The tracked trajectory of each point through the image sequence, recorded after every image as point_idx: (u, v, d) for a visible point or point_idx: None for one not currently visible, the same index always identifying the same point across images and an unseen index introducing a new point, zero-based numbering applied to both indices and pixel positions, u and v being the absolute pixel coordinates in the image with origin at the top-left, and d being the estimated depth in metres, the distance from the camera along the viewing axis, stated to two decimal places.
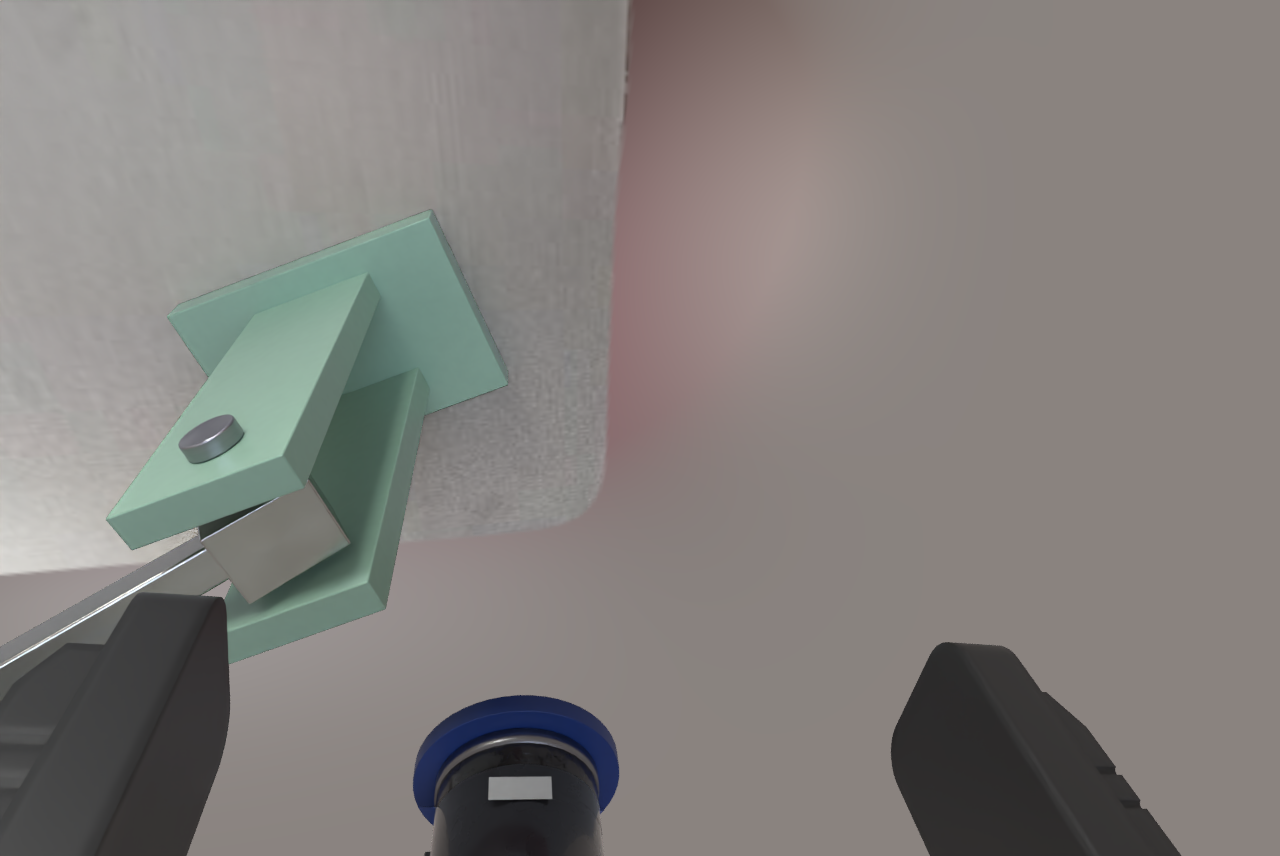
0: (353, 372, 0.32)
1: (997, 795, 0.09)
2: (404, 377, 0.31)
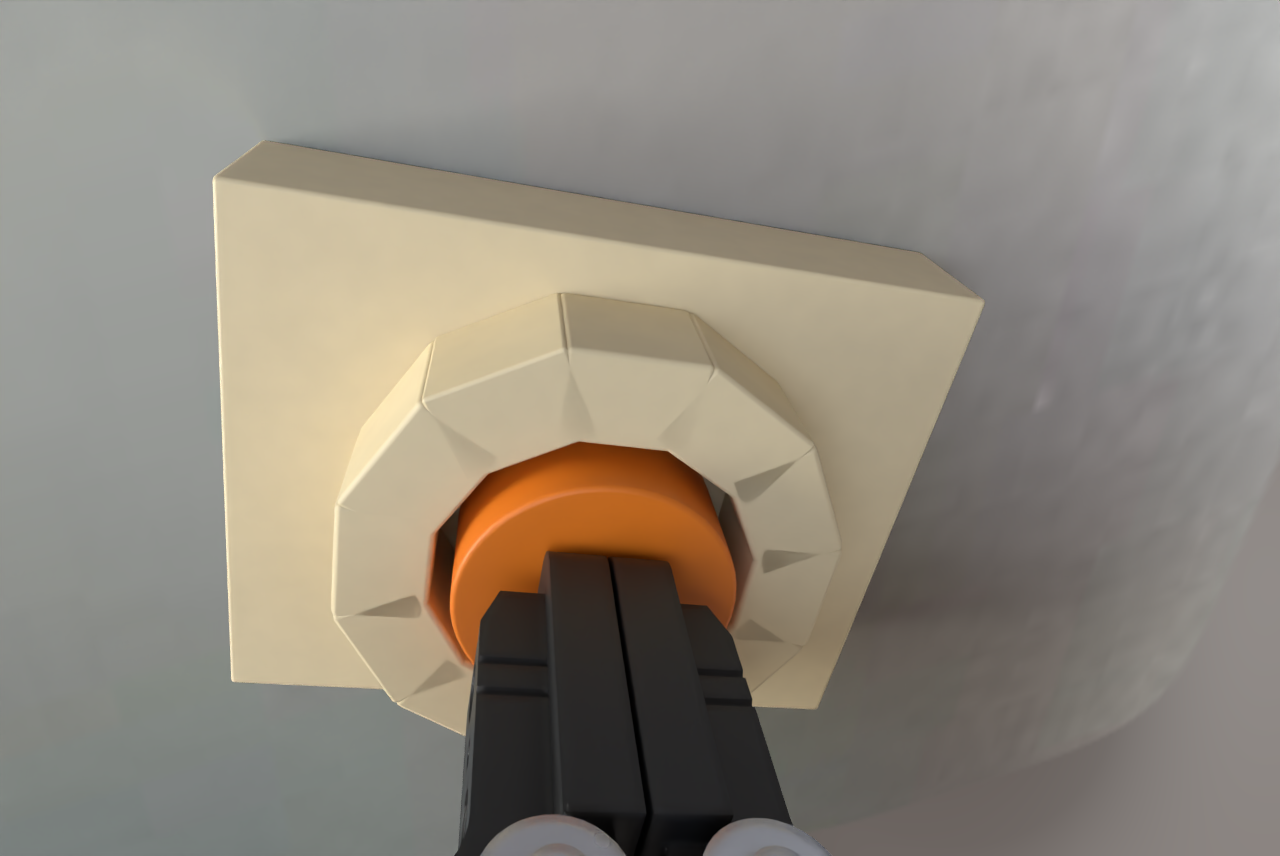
0: None
1: None
2: None
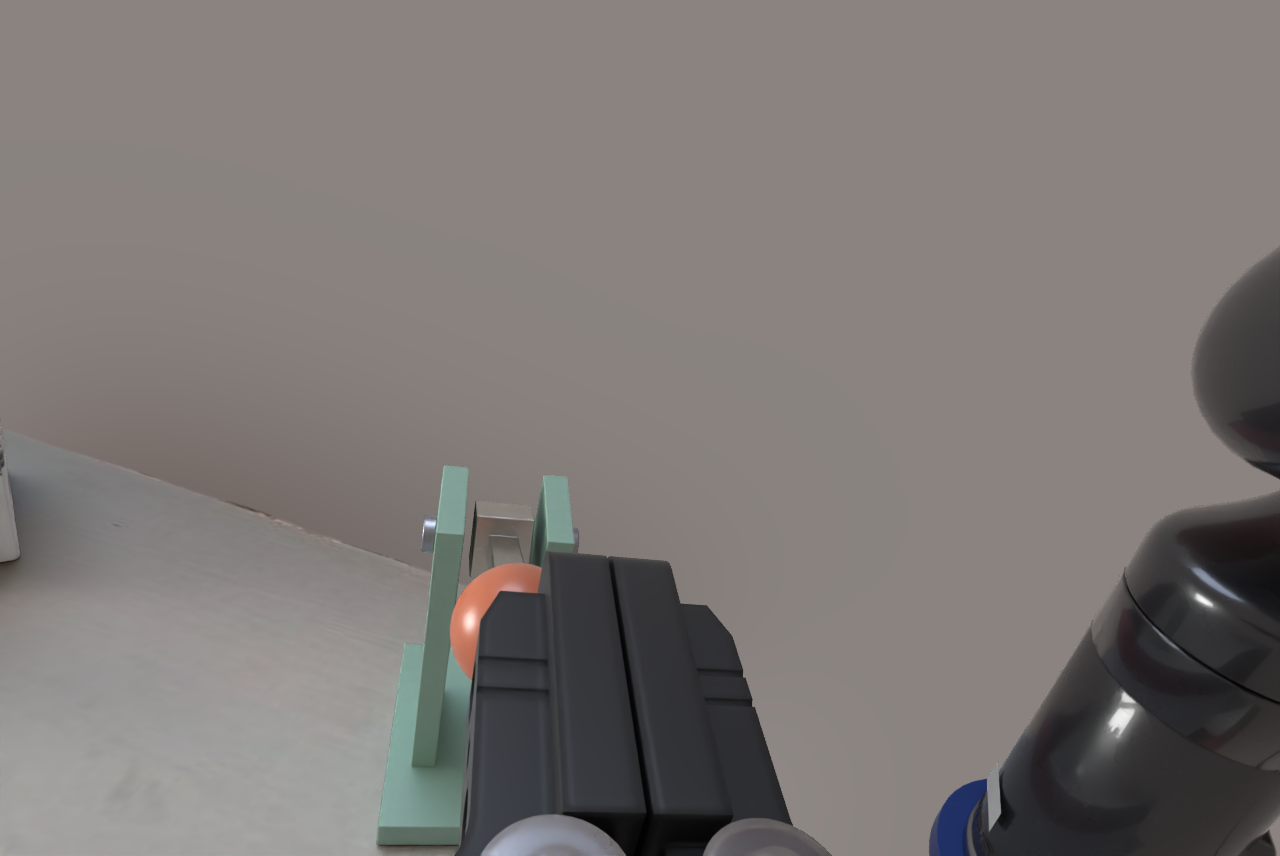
0: None
1: None
2: None
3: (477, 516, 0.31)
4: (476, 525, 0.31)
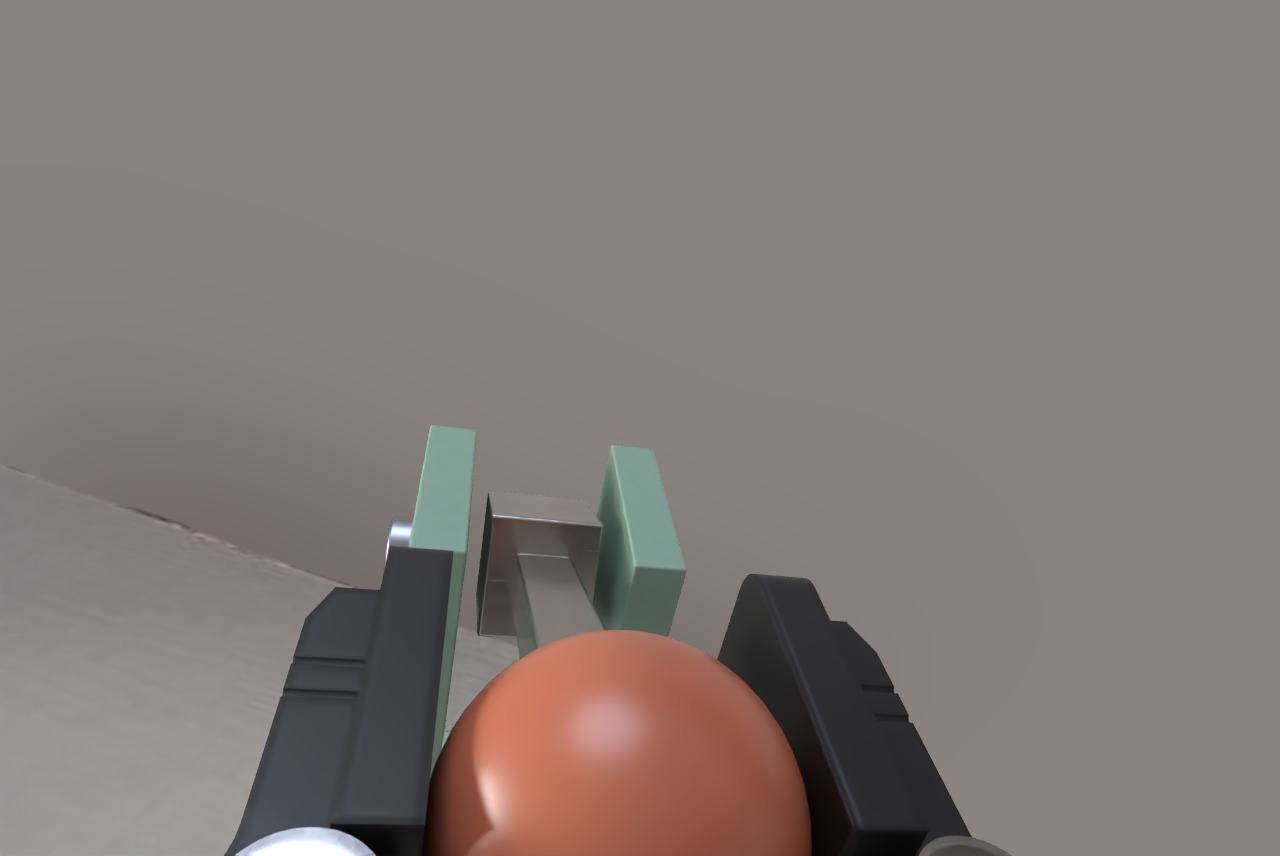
0: None
1: (774, 711, 0.09)
2: None
3: (493, 516, 0.16)
4: (491, 534, 0.16)
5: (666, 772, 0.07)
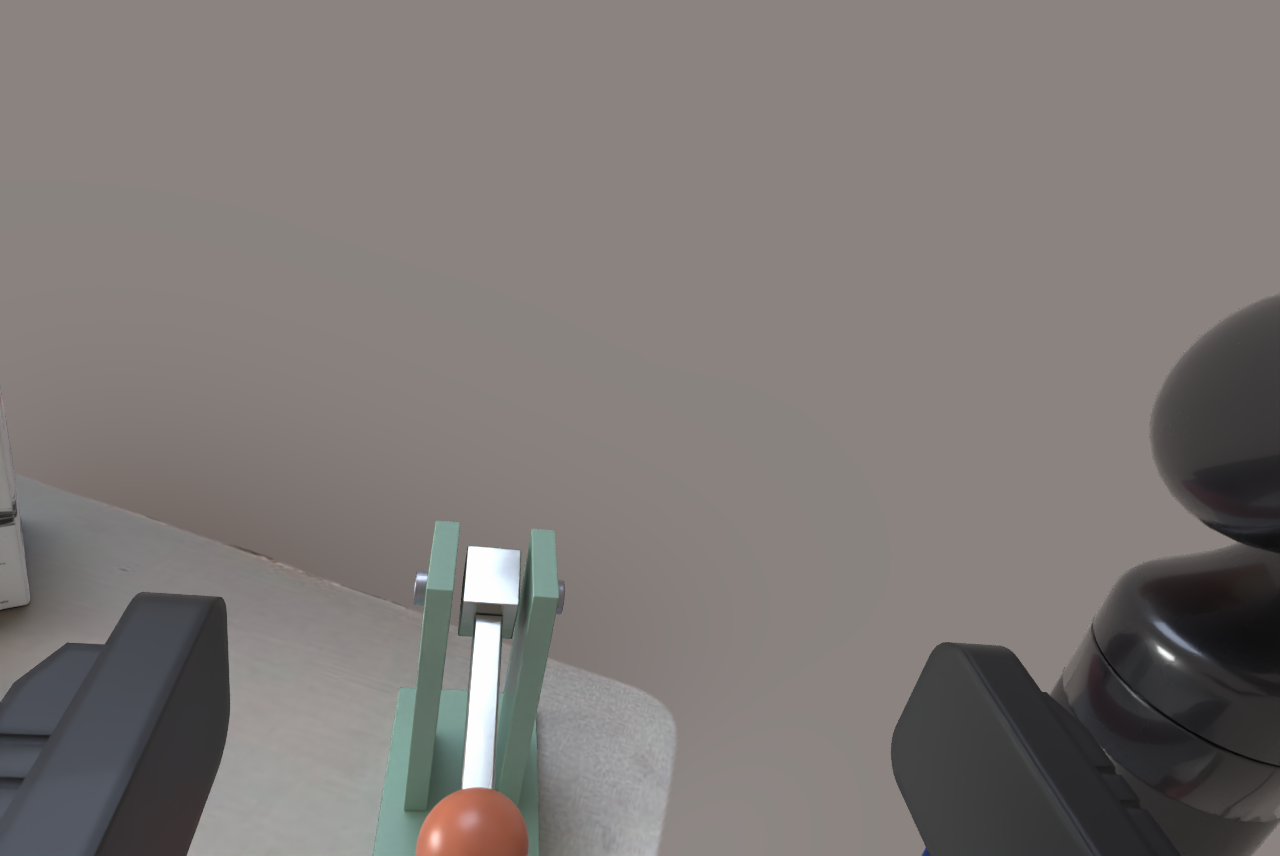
0: None
1: (997, 795, 0.09)
2: (497, 734, 0.41)
3: (463, 601, 0.33)
4: (462, 607, 0.33)
5: None
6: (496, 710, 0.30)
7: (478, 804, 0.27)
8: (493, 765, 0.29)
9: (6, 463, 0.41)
